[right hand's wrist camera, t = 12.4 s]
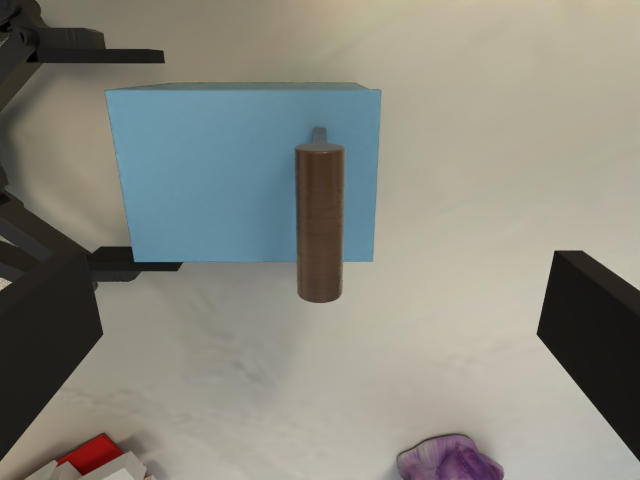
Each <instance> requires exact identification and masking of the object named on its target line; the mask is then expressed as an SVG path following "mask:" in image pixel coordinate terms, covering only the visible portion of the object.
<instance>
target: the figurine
mask: <svg viewBox="0 0 640 480" xmlns="http://www.w3.org/2000/svg"><path fill="white" fill-rule="evenodd" d="M398 465H399V472H400V475H401V477H402V478H403V480H502V479H503V478H504V469H503V467H502V466H501V465H500V464H499V463H497V462H496V461H494V460H492V459H490V458H488V457H486V456H483V455H481V454H480V453H478V451H477V448H476V446H475V444H474V442H473V441H472V440H471V439H470V438H468V437H465V436H462V435H456V434H455V435H452V436H445V437H439V438H434V439H431V440H428V441H424V442H423V443H421V444H420V445H418V446H417V447H416V448H414V449H412V450H409V451H407V452H404V453H403V454H401V455H399V457H398Z"/></svg>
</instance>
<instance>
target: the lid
mask: <svg viewBox="0 0 640 480" xmlns="http://www.w3.org/2000/svg"><path fill="white" fill-rule="evenodd" d="M105 95H106V101H107V107H108V112H109V118H110V124H111V130H112V135H113V141H114V147H115V153H116V159H117V164H118V170H119V176H120V182H121V187H122V193H123V199H124V205H125V210H126V216H127V222H128V228H129V233H130V239H131V245H132V251H133V256H134V262H297V292H298V295H299V296H300V297H301V298H302V299H304V300H306V301H309V302H313V303H326V302H331V301H334V300H336V299H338V298H339V297H340V296H341V294H342V282H343V262H372V261H373V248H374V227H375V207H376V187H377V166H378V146H379V126H380V106H381V90H379V89H112V90H105Z"/></svg>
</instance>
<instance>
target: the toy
mask: <svg viewBox="0 0 640 480" xmlns="http://www.w3.org/2000/svg"><path fill="white" fill-rule="evenodd" d="M146 469H147V468H146V467H145V466H144V464H143V463H142V462H141V461H140V460H139V459H138V458H137V457H136V456H135V455H134V454H133V452H132V451H131V450H130V451H129V452H127V453H125V454H123V453H122V452H121V451H120V449H119V448H118V447H117V446H116V445H115V444H114V443H113V442H112V441H111V440H110V439H109V438H108V437H107V436H106V435H105V434H104V433H103V434H102V435H100V436H98V437H97V438H95V439H93V440H92V441H90V442H88V443H87V444H85V445H83V446H82V447H80V448H78V449H76V450H75V451H73V452H71V453H70V454H68V455H66V456H65V457H63V458H61V459H60V460H58V461H55V460H53V461H51V462H50V463H48V464H47V465H45V466H44V467H42V468H41V469H39V470H38V471H36V472H35V473H33V474H32V475H30V476H29V477H27V478H26V479H24V480H157V479H156V478H155V476H154V475H153V474H152V475H150V476H149V477H146V476H145V472H146Z"/></svg>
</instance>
